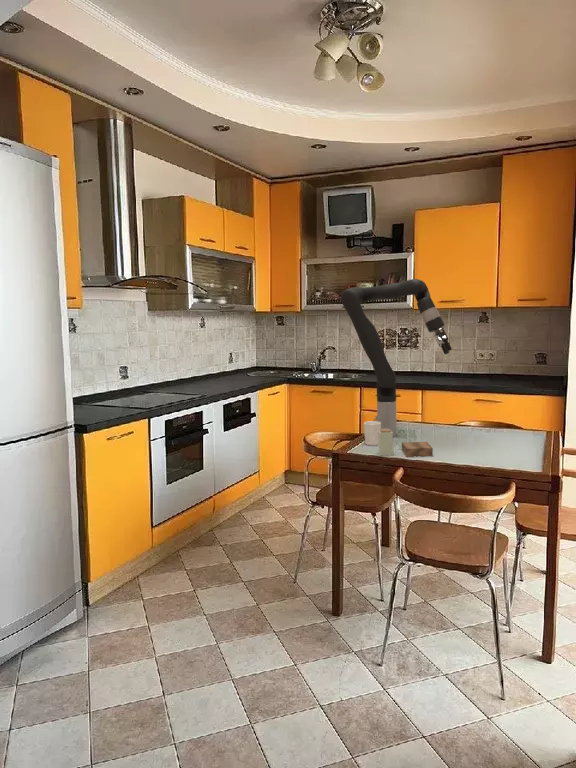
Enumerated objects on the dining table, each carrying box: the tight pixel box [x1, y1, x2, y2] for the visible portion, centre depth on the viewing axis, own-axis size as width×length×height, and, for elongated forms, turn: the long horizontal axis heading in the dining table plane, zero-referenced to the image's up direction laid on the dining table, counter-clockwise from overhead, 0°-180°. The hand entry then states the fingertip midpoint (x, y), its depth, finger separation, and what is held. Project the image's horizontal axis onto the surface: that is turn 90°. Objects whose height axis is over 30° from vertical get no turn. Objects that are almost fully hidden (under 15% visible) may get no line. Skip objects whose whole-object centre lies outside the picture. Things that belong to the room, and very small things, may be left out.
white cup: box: [363, 420, 381, 446], centre depth 264 cm, size 8×8×10 cm
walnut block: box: [401, 441, 434, 458], centre depth 245 cm, size 11×11×4 cm
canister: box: [377, 429, 394, 456], centre depth 245 cm, size 5×5×11 cm
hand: (448, 352), depth 252 cm, fingers open, 8 cm apart
